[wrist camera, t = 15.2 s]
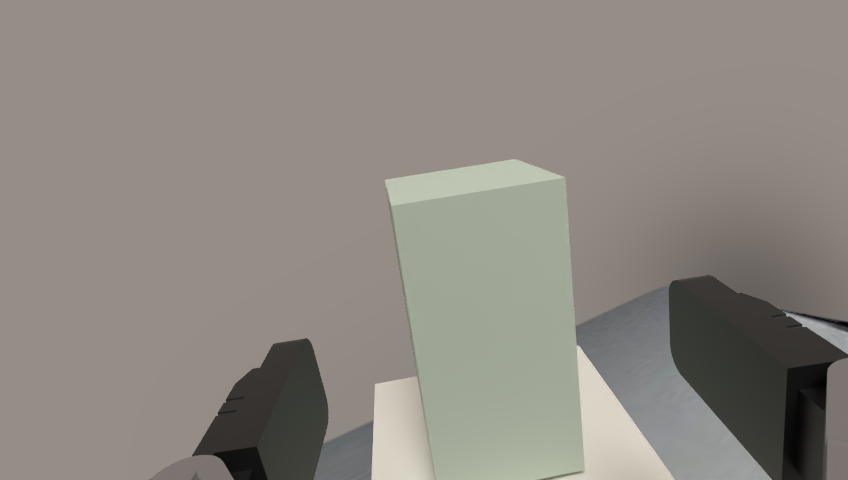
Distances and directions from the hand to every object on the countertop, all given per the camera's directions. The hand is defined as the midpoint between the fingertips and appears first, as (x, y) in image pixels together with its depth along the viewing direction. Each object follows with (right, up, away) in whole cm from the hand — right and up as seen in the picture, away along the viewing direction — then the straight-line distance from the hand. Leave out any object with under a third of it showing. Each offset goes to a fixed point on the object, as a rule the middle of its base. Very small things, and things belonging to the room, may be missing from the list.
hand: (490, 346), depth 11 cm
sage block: (+1, -5, +8) cm, 10 cm away
